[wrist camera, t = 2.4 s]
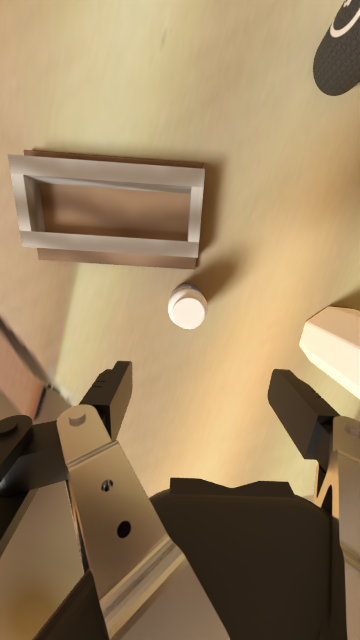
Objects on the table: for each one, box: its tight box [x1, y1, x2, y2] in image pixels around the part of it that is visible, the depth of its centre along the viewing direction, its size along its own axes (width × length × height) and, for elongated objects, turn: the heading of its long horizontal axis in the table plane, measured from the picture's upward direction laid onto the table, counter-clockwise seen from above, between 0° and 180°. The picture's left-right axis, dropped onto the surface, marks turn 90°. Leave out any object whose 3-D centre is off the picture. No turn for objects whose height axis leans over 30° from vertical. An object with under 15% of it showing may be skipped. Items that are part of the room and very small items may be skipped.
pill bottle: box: [168, 284, 208, 329], centre depth 29 cm, size 6×5×10 cm
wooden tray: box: [8, 150, 205, 269], centre depth 28 cm, size 14×24×4 cm, turn 87°
